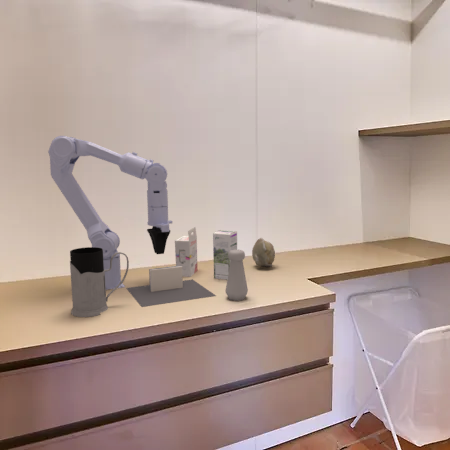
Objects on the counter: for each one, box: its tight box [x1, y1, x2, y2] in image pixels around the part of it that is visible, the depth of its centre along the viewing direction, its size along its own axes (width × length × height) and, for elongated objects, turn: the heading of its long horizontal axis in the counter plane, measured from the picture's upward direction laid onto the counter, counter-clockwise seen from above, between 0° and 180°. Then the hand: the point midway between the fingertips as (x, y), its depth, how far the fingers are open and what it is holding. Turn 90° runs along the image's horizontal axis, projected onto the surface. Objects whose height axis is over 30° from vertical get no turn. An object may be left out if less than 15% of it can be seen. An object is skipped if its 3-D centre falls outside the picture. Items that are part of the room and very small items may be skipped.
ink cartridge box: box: [174, 226, 198, 278], centre depth 141 cm, size 9×5×15 cm, turn 168°
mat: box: [125, 278, 217, 308], centre depth 122 cm, size 20×18×1 cm
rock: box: [251, 237, 276, 268], centre depth 149 cm, size 9×8×10 cm
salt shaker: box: [224, 249, 249, 302], centre depth 115 cm, size 6×6×13 cm
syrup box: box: [212, 229, 238, 281], centre depth 135 cm, size 6×6×14 cm
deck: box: [148, 265, 184, 292], centre depth 124 cm, size 9×2×6 cm, turn 114°
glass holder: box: [69, 246, 130, 318], centre depth 109 cm, size 9×14×15 cm, turn 114°
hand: (159, 253), depth 129 cm, fingers closed
